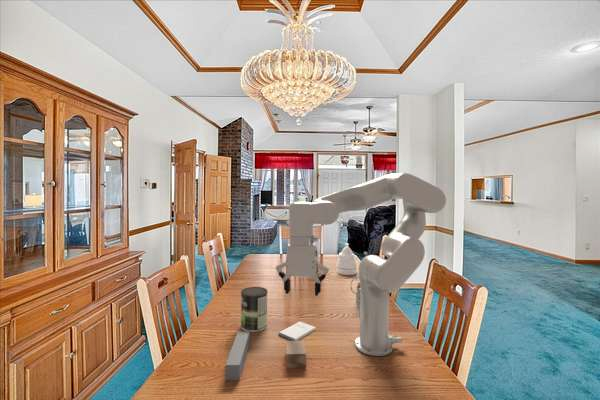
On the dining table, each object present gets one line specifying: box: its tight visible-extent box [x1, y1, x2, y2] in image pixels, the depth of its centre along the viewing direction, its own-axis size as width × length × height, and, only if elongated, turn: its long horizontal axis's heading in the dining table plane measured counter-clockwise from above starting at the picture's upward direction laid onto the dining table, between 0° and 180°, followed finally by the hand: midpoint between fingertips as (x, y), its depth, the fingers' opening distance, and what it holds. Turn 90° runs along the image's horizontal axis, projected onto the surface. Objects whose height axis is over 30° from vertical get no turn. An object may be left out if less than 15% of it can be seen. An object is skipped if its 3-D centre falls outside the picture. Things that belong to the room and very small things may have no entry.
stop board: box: [224, 331, 250, 381], centre depth 98 cm, size 4×20×4 cm, turn 1°
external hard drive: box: [278, 321, 317, 341], centre depth 117 cm, size 2×8×12 cm
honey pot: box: [336, 242, 358, 276], centre depth 200 cm, size 13×13×18 cm
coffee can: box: [240, 286, 269, 333], centre depth 121 cm, size 10×10×14 cm
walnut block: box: [285, 340, 307, 369], centre depth 98 cm, size 6×8×4 cm
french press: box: [350, 251, 369, 309], centre depth 144 cm, size 10×12×25 cm
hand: (302, 293), depth 99 cm, fingers open, 9 cm apart
